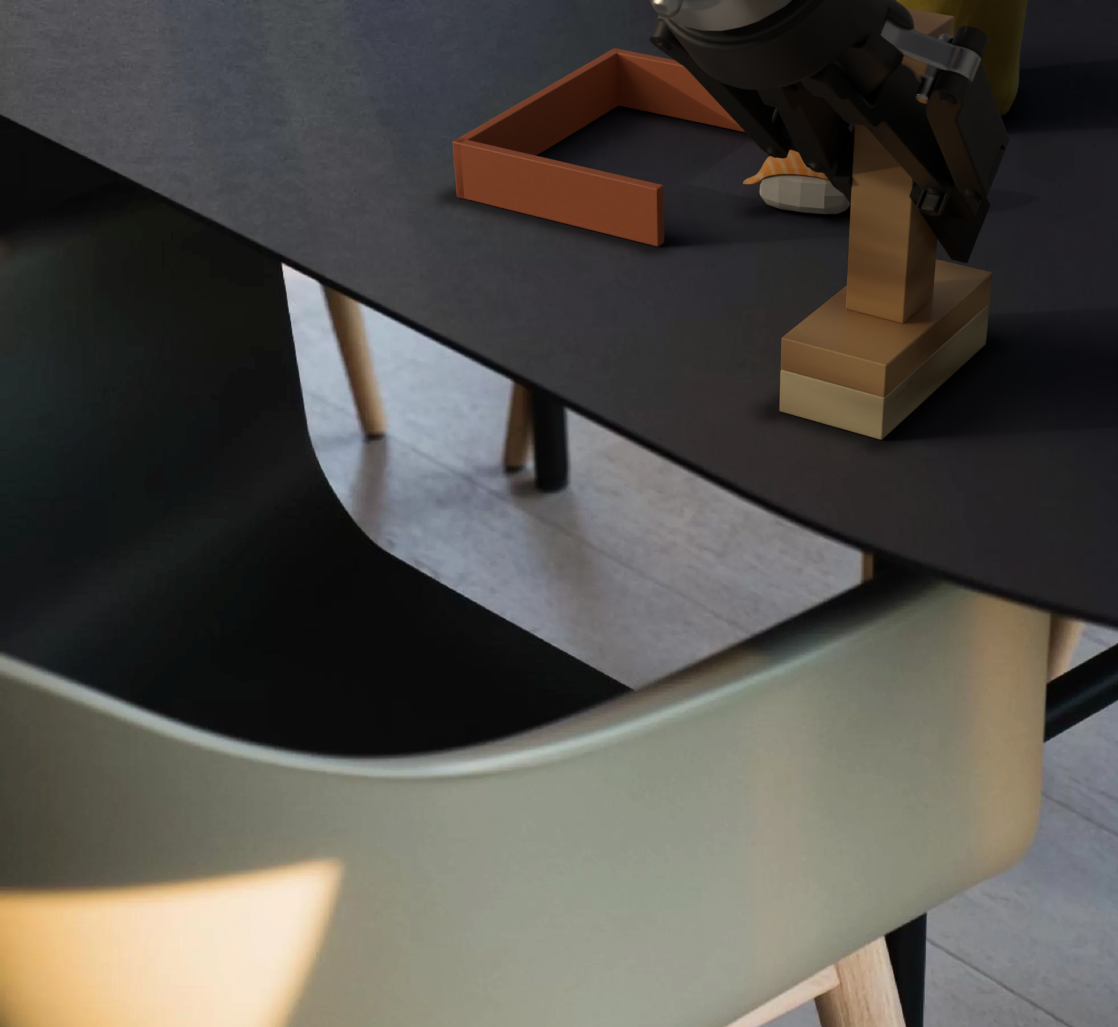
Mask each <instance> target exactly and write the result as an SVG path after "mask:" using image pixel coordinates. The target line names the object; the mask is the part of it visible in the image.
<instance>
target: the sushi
mask: <svg viewBox="0 0 1118 1027" xmlns="http://www.w3.org/2000/svg"><path fill="white" fill-rule="evenodd" d="M742 184H743V185H748V186H751V185H756V184H759V195H760V198H761V199H762V200H763V202H764V203H765V204H766V205H768V206H770V207H773V208H776V209H778V210H782V211H793V212H797V213H798V212H799V213H807V214H816V215H817V214H820V215H838V214H841V213H843V212H845V211H847V209H848V208H850V207H851V204H850V202H849V201H848V200H847V198H846V197H845V196H844V194H843V193H841V192H840V191H838V190H837V189H836V188H835V187H833V185H832V184H831V182H830V181H829V180H828V178H827V177H826V176H825V174H824V173H818V172H815V171H813V170H811V169H810V168H808V167H807V166H806V165H805V164H804V162H803V160H802V158H801V156H800V154H799V153H798V152H796V151H793V150H790V151H789V153H788V156H787V158H784V159H782V158H774V157H771V156H769V155H768V157H767V158H766V159H765V161H764V162H763V164H762V166H761V168H760V169H759V171H758V172H757V173H756V174H755V175H752V176H750V177H748V178H745V179H744V180H743V182H742Z"/></svg>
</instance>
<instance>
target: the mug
mask: <svg viewBox="0 0 1118 1027" xmlns="http://www.w3.org/2000/svg"><path fill="white" fill-rule="evenodd" d="M896 1H897V2H899V3H900V4H902V5H903V6H904V7H905V8H908V9H914V10H920V11H926V12H931V13H937V14H943V15H949V16H954V17H955V21H954V34H953V38H954V35H955V33H956V31H957V29H958V28H959V27H961V26H969V27H970V26H971V27H974V28H977V29H979V30H980V31H982V32H983V33H985V34H986V35H987V36H988V38H989V42H988V45H987V47H986V50H985V52H984V55H983V57H982V63H983V65H984V68H985V71H986V74H987V77H988V80H989V83H990V86H991V89H992V91H993V94H994V97H995V100H996V103H997V106H998V109H999V112H1000V115H1001V117H1002V116H1004V115H1006V114H1008V112H1010V109H1011V107H1012V105H1013V103H1014V101H1015V100H1016V97H1017V94H1018V90H1019V89H1018V88H1019V85H1020V58H1021V48H1022V40H1023V35H1024V34H1023V33H1024V28H1025V23H1026V22H1025V21H1026V17H1027V16H1026V15H1027V9H1028V8H1027V7H1028V2H1029V0H896Z"/></svg>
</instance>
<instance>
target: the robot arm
mask: <svg viewBox="0 0 1118 1027" xmlns="http://www.w3.org/2000/svg"><path fill="white" fill-rule="evenodd" d="M648 1H649V2H650V3H651V6H652V8H653V10H654V11H655V12H656V13H657V14H658V16H657V19H656V21H655V24H654V26H653V29H652V31H651V34H650V37H649V43H650V44H652V45H653V46H654V47H656V48H657V50H659V51H661V52H662V53H664V55H667V56H668V57H669V58H670V59H672V60H675V61H677V62H678V63H679V64H681V65H682V66H684V67H685V68H686V69H687V70H688V71H689V72H690V73H691V74H692V75H693V76H694V77H695V79H696V80H697V81H698V82H699V83H700V84H701V85H702V86H703V87H704V88H705V89H706V90H707V91H708V93H709V94H710V95H711V96H712V97H713V98H714V99H715V100H716V101H717V102H718V103H719V104H720V105H721V106H722V108H723V109H724V110H725V111H726V112H727V113H728V114H729V115H730V116H731V117H732V118H733V119H734V120H735V121H736V123H737V124H738V125H739V126H740V127H741V128H742V129H743V130H744V131H745V132H744V133H746V134H747V136H748V137H749V138H750V139H751V140H752V141H753V142H754V143H755V144H756V145H757V146H758V148H760V149H761V150H762V151H763V152H764V153H765V154H766V155H768V157H769V156H771V157H774V158H782V159H784V158H787V156H788V153H789V151H790V150H793V151H796V152H798V153H799V154H800V156H801V158H802V160H803V162H804V164H805V165H806V166H807V167H808V168H810V169H811V170H813V171H815V172H818V173H824V174H825V176H826V177H827V178H828V180H829V181H830V182H831V184H832V185H833V187H835V188H836V189H837V190H838V191H840V192H841V193H843V194H844V196H845V197H846V198H847V200H848V201H849V202H850V204H851V192H852V172H853V151H854V131H855V124H858V125H865V126H866V127H867V129H868V130H869V131H870V132H871V133H872V134H873V135H874V136H875V138H876V139H877V140H878V141H879V142H880V143H881V144H882V145H883V147H884V148H885V149H886V150H887V151H888V152H889V153H890V154H891V155H892V157H893V158H894V159H895V160H896V161H897V162H898V163H899V164H900V166H901V167H902V168H903V169H904V170H905V171H906V172H907V173H908V175H909V176H910V177H911V178H912V179H913V180H914V181H915V184H914V186H913V188H912V190H911V193H910V195H909V197H910V198H911V200H912V201H913V202H914V204H915V205H916V207H915V208H917V209H918V210H919V211H920V213H921V214H922V216H923V217H924V219H925V220H926V222H927V223H928V225H929V226H930V228H931V229H932V231H933V232H934V234H935V235H936V237H937V241H938V242H939V244H940V245H941V246H942V248H943V249H944V251H945V253H946V254H947V256H948V257H949V259H950V260H951V261H955V262H958V263H963V264H968V263H969V260H970V257H971V255H972V252H973V250H974V248H975V245H976V243H977V240H978V237H979V235H980V233H981V230H982V228H983V225H984V223H985V220H986V218H987V216H988V212H989V210H990V208H991V203H990V201H989V200H988V196H989V193H990V191H991V188H992V186H993V183H994V180H995V178H996V176H997V173H998V170H999V168H1000V166H1001V163H1002V161H1003V158H1004V156H1005V153H1006V150H1007V149H1008V146H1009V144H1010V138H1009V135H1008V132H1007V128H1006V126H1005V123H1004V120H1003V118H1002V116H1001V115H1000V112H999V109H998V106H997V103H996V100H995V97H994V94H993V91H992V89H991V86H990V83H989V80H988V77H987V74H986V71H985V68H984V65H983V63H982V57H983V55H984V52H985V50H986V47H987V45H988V42H989V38H988V36H987V35H986V34H985V33H983V32H982V31H980V30H979V29H977V28H974V27H971V26H970V27H969V26H961V27H959V28H958V29H957V31H956V33H955V35H954V38H953V37H952V36H950V35H948V34H941V35H940V36H939V38H938V39H937V38H934V37H932V36H929V35H926V34H924V33H921V32H919V31H916V30H914V21H913V18H912V15H911V14H910V12H909V11H908V10H907V9H906V8H905V7H904V6H903V5H902V4H900V3H899V2H897V1H896V0H648ZM850 124H851V125H852V124H853V127H852V130H850V129H849V127H850Z"/></svg>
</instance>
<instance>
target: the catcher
mask: <svg viewBox="0 0 1118 1027" xmlns="http://www.w3.org/2000/svg"><path fill="white" fill-rule="evenodd" d="M617 107H625V108H629V109H633V110H637V111H642V112H648V113H652V114H657V115H662V116H666V117H671V118H676V119H680V120H685V121H690V122H695V123H699V124H705V125H709V126H714V127H718V128H723V129H727V130H733V131H736V132H737V131H738V132H742V133H746V132H745V131H744V130H743V129H742V128H741V127H740V126H739V125H738V124H737V123H736V121H735V120H734V119H733V118H732V117H731V116H730V115H729V114H728V113H727V112H726V111H725V110H724V109H723V108H722V106H721V105H720V104H719V103H718V102H717V101H716V100H715V99H714V98H713V97H712V96H711V95H710V94H709V93H708V91H707V90H706V89H705V88H704V87H703V86H702V85H701V84H700V83H699V82H698V81H697V80H696V79H695V77H694V76H693V75H692V74H691V73H690V72H689V71H688V70H687V69H686V68H685V67H684V66H682V65H681V64H679V63H678V62H677V61H675V60H674V59H672V58H666V57H661V56H656V55H651V54H647V53H641V52H637V51H630V50H626V49H621V48H616V47H614V48H612V49H610V50H608V51H607V52H605V53H603V54H601V55H600V56H598V57H596V58H595V59H593V60H591V61H590V62H588V63H586V64H585V65H583V66H581V67H579V68H577V69H576V70H574V71H572V72H571V73H569V74H567V75H565V76H563V77H561V78H560V79H558V80H556V81H554V82H553V83H551V84H550V85H548V86H546V87H545V88H543V89H541V90H539V91H537V92H535V93H534V94H532V95H531V96H528V97H527V98H525V99H524V100H522V101H520V102H518V103H517V104H515V105H513V106H511V107H510V108H508V109H507V110H504V111H503V112H501V113H499V114H498V115H496V116H494V117H492V118H491V119H489V120H487V121H486V122H484V123H483V124H482V123H481V125H480V124H479V126H477V127H476V128H474V129H472V130H470V131H468V132H467V133H465V134H463V135H462V136H460V137H458V138H456V139H455V140H452V153H453V167H454V177H455V178H454V179H455V191H456V197H457V198H461V199H463V200H468V201H473V202H476V203H480V204H485V205H488V206H491V207H492V206H493V207H496V208H501V209H505V210H509V211H513V212H516V213H517V212H518V213H521V214H525V215H529V216H532V217H537V218H542V219H545V220H549V221H553V222H557V223H561V224H565V225H569V226H574V227H577V228H582V229H585V230H590V231H594V232H597V233H601V234H606V235H610V236H614V237H618V238H621V239H626V240H630V241H634V242H637V243H642V244H646V245H649V246H654V247H660V246H661V245H663V244H664V243H665V206H664V205H665V202H664V198H665V197H664V193H665V192H664V191H665V190H664V185H663V184H660V183H656V182H651V181H647V180H646V181H645V180H643V179H639V178H634V177H630V176H626V175H622V174H616V173H613V172H608V171H603V170H599V169H596V168H590V167H586V166H581V165H579V164H574V163H569V162H566V161H560V160H556V159H552V158H549V157H548V158H547V157H543V156H540V154H542V153H544V152H546V151H547V150H549V149H550V148H552V147H554V146H555V145H557V144H558V143H559V142H562V141H563V140H564V139H566V138H568V137H570V136H571V135H572V134H575V133H576V132H577V131H579V130H581V129H583V128H584V127H586V126H588V125H589V124H591V123H592V122H594V121H596V120H597V119H599V118H600V117H602V116H604V115H605V114H607V113H610V111H612V110H614V109H616V108H617ZM538 155H539V156H538Z"/></svg>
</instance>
